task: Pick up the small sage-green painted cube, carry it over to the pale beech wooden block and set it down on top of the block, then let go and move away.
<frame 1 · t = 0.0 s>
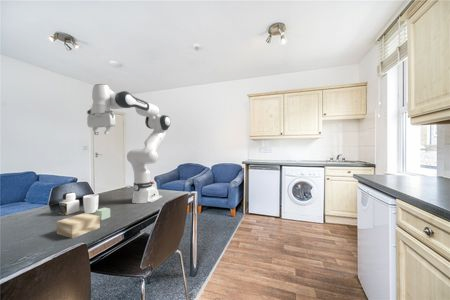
hand: (101, 134, 109), 48 cm above the table, tool pointing down, fingers open, 8 cm apart
white cup: (91, 212, 114), on the table
medicine bottle: (69, 212, 113), on the table
beech block: (79, 230, 88), on the table
sage cube: (103, 218, 104), on the table
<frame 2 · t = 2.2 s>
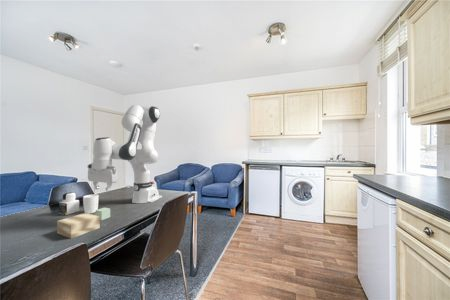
hand: (102, 189, 104), 16 cm above the table, tool pointing down, fingers open, 8 cm apart
nothing on the table moved.
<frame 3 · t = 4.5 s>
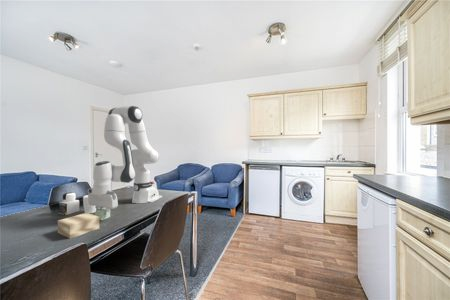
hand: (103, 214, 104), 2 cm above the table, tool pointing down, fingers closed on sage cube, 5 cm apart
sage cube: (103, 217, 104), on the table, touching gripper
everything else where it was.
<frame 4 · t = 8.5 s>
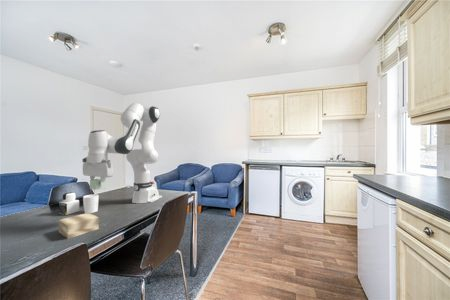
hand: (97, 184, 100), 20 cm above the table, tool pointing down, fingers closed on sage cube, 5 cm apart
sage cube: (97, 188, 100), point 18 cm above the table, touching gripper
everything else where it was.
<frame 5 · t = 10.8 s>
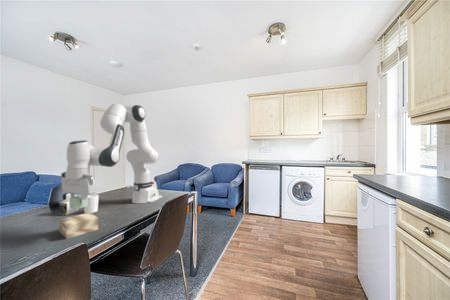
hand: (78, 202, 88), 13 cm above the table, tool pointing down, fingers closed on sage cube, 5 cm apart
sage cube: (78, 206, 88), point 11 cm above the table, touching gripper
when the fingers open (10 cm above the table, at t = 12.8 s): sage cube drops 2 cm, resting on beech block.
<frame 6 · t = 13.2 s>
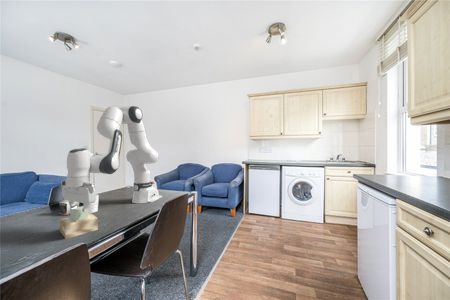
hand: (79, 210, 88), 10 cm above the table, tool pointing down, fingers open, 8 cm apart
beech block: (79, 231, 88), on the table, touching sage cube
sage cube: (79, 218, 88), point 6 cm above the table, touching beech block
everything else where it was.
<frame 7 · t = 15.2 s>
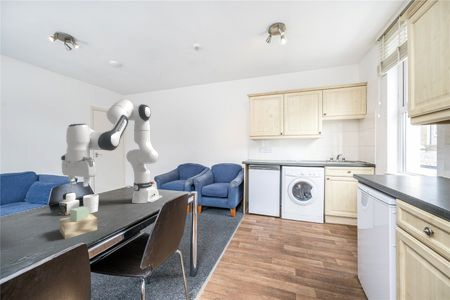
hand: (79, 185, 88), 22 cm above the table, tool pointing down, fingers open, 8 cm apart
nothing on the table moved.
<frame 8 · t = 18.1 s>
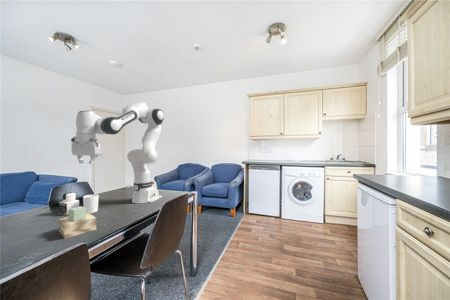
hand: (86, 163, 103), 31 cm above the table, tool pointing down, fingers open, 8 cm apart
beech block: (77, 230, 89), on the table
sage cube: (77, 218, 88), point 6 cm above the table
everything else where it was.
at the end: sage cube inside the target area on the beech block (0.5 cm from its centre), point 6.0 cm above the beech block's base; sage cube tilted 1°; the gripper is holding nothing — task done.
